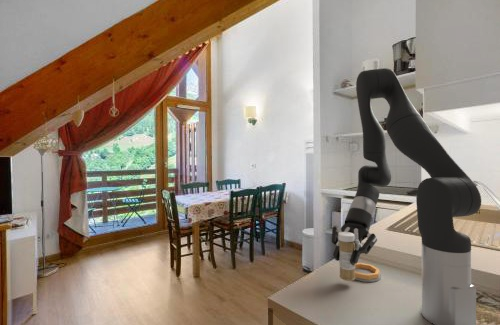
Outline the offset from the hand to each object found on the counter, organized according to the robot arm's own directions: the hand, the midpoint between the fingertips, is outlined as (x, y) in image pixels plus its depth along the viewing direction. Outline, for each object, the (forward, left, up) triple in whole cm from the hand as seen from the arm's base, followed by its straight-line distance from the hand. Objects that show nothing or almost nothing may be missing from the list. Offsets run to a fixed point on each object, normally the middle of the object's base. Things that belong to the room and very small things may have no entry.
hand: (344, 261), depth 77 cm
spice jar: (+1, -2, -6) cm, 6 cm away
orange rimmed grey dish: (+5, -10, -8) cm, 14 cm away
